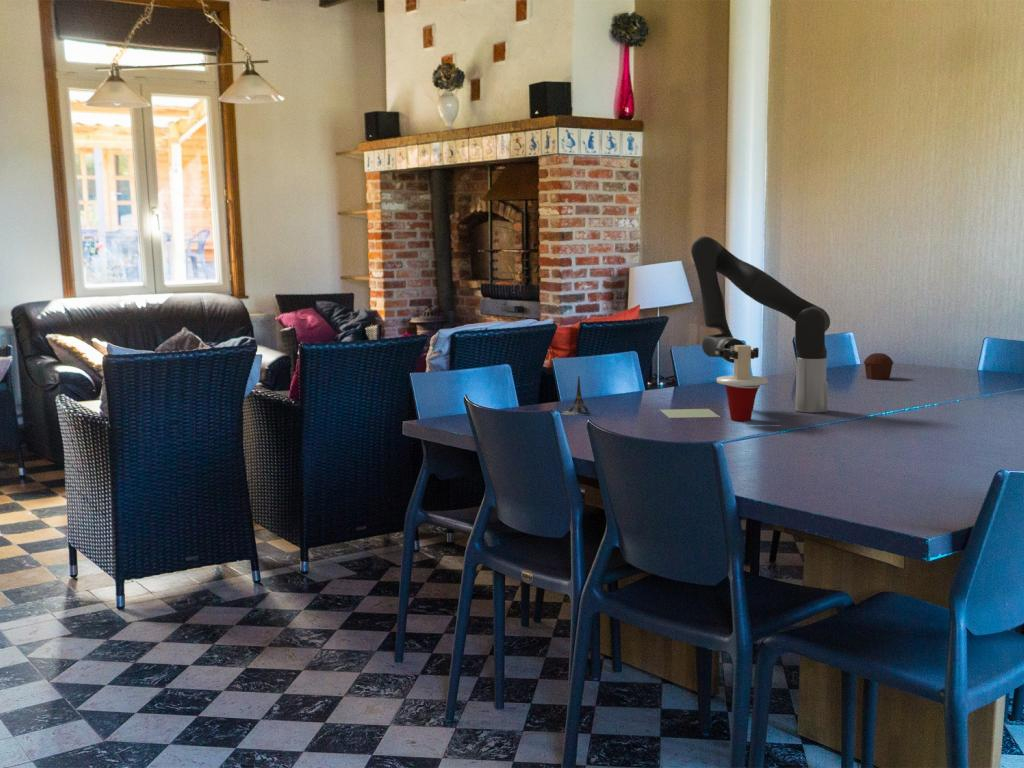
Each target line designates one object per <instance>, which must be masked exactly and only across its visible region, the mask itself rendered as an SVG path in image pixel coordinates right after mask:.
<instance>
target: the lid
mask: <svg viewBox="0 0 1024 768" xmlns="http://www.w3.org/2000/svg"><path fill="white" fill-rule="evenodd" d="M751 349H752V346H751V345H749V344H744V345H735V347H734V351H737V352H738V359H734V363H733V375H723V376H719V377H718V376H717V377H716V383H717V384H719V385H724V386H725V385H732V386H759V385H760V386H764V385H767V384H768V382H769V379H768V378H766V377H762V376H758V375H757V376H756V375H754V376H753V375H752V374H751V370H752V368H751V366H752V364H751V363H752V359H751Z"/></svg>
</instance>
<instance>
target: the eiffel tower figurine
mask: <svg viewBox="0 0 1024 768" xmlns="http://www.w3.org/2000/svg"><path fill="white" fill-rule="evenodd" d="M576 387H577V388H576V389H577V390H576V396H575V399H574V401H573V402H572V405H571V407H567V408H568V409H567V410H566V411H563V410H562V411H563V413H560V415H566V416H574V415H578V414H579V415H580V414H587V413H591V411H590V410H589V409H588V408H587V406H586V403H585V402H584V401H583V398H582V391H581V376H580V375H578V376H577V385H576ZM574 408H576V410H573V409H574ZM582 408H583V409H584V410H582Z"/></svg>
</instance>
